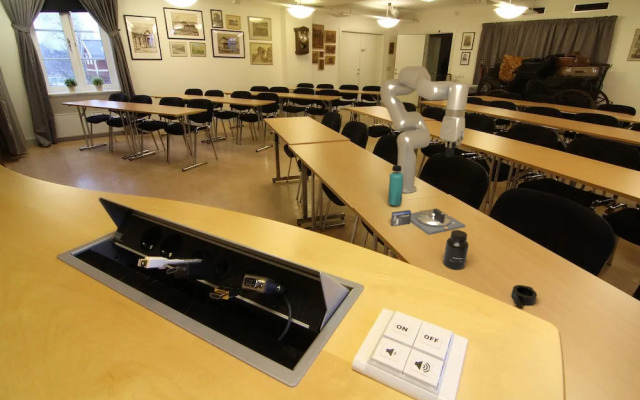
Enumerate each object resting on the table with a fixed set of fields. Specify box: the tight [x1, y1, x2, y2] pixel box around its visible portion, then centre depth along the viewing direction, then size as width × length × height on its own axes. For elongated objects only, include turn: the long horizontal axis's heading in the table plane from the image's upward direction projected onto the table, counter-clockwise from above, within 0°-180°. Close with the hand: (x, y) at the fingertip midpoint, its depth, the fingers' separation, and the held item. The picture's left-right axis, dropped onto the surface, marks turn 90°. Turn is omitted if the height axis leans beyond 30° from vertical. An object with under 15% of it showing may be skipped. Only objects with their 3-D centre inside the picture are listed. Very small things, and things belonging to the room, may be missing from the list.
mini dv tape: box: [390, 209, 412, 227], centre depth 135 cm, size 8×2×6 cm, turn 105°
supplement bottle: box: [442, 229, 470, 270], centre depth 106 cm, size 7×7×12 cm
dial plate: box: [410, 207, 466, 236], centre depth 138 cm, size 18×18×1 cm
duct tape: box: [510, 284, 538, 309], centre depth 91 cm, size 8×10×3 cm
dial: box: [416, 208, 452, 227], centre depth 136 cm, size 14×14×5 cm
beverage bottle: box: [387, 164, 403, 206], centre depth 150 cm, size 6×7×20 cm
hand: (449, 156), depth 141 cm, fingers closed
